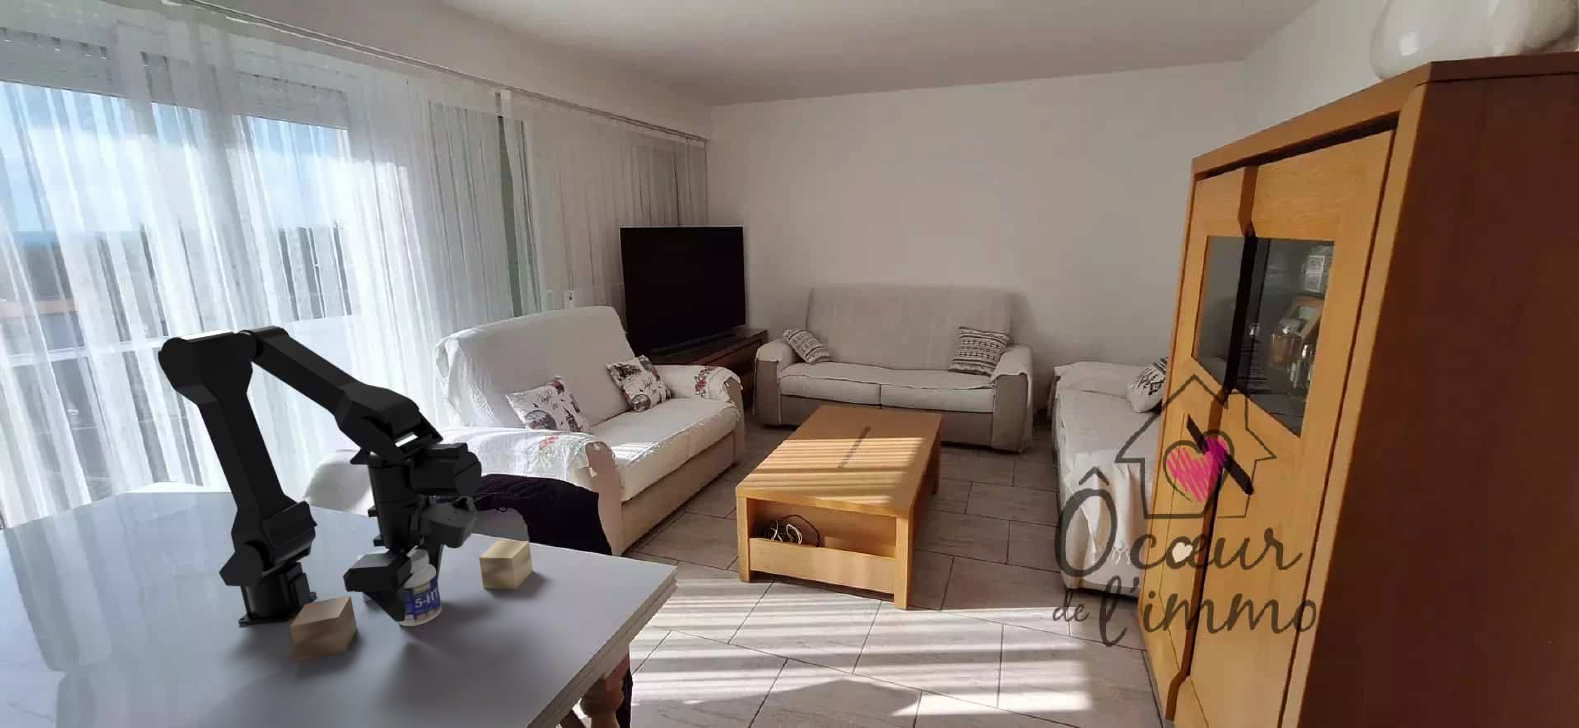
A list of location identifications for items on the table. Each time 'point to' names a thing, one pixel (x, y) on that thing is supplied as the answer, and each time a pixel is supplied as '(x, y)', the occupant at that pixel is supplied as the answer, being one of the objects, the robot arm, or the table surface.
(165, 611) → the table surface
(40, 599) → the table surface
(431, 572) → the pill bottle
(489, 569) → the oak block
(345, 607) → the walnut block
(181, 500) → the table surface
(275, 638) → the table surface
